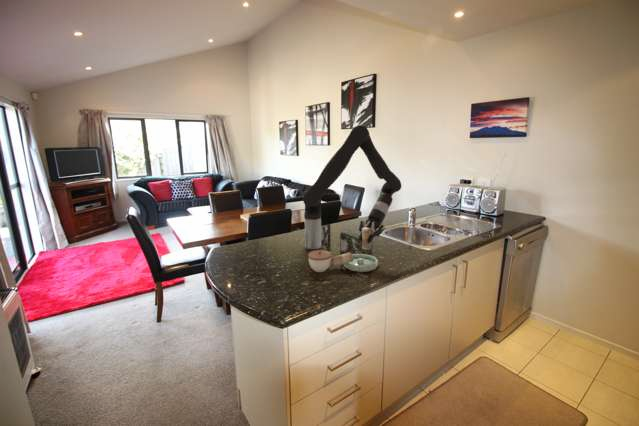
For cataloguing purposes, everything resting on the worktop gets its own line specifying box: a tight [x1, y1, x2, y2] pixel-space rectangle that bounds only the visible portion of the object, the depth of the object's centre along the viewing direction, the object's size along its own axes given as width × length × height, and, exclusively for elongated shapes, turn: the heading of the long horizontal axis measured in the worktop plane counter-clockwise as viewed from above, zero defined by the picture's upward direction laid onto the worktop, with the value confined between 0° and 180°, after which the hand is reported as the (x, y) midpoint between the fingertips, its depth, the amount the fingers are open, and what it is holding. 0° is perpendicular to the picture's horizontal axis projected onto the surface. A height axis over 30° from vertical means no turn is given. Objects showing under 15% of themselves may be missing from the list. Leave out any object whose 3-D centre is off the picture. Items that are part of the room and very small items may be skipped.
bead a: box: [361, 227, 372, 251], centre depth 148 cm, size 4×4×10 cm
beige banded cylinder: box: [331, 251, 353, 268], centre depth 143 cm, size 4×4×10 cm
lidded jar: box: [307, 249, 332, 273], centre depth 142 cm, size 11×11×9 cm
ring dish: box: [343, 253, 379, 273], centre depth 147 cm, size 16×16×3 cm
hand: (364, 241), depth 146 cm, fingers closed on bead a, 4 cm apart
